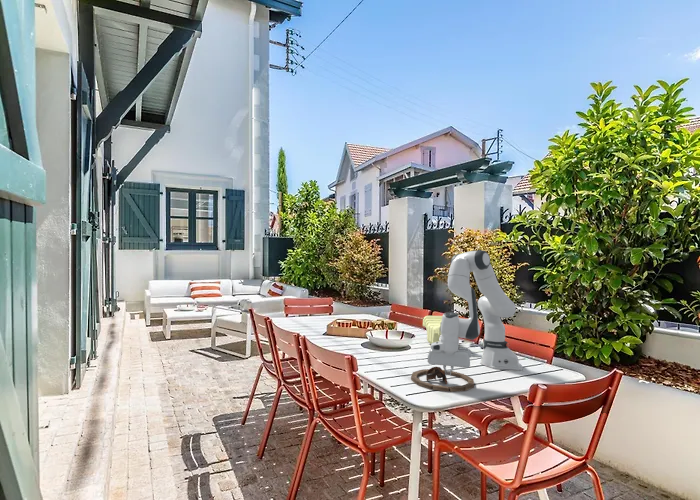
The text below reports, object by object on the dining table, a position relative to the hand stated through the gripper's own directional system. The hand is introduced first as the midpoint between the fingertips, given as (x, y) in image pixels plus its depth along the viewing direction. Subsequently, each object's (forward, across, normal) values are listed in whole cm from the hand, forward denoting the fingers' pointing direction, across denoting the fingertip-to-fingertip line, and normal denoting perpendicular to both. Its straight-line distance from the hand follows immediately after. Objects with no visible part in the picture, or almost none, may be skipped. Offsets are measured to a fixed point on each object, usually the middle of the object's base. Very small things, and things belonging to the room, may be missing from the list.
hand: (448, 374), depth 202 cm
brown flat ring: (+4, +3, 0) cm, 4 cm away
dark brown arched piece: (+4, +5, +2) cm, 6 cm away
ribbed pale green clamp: (+4, +6, -79) cm, 79 cm away
